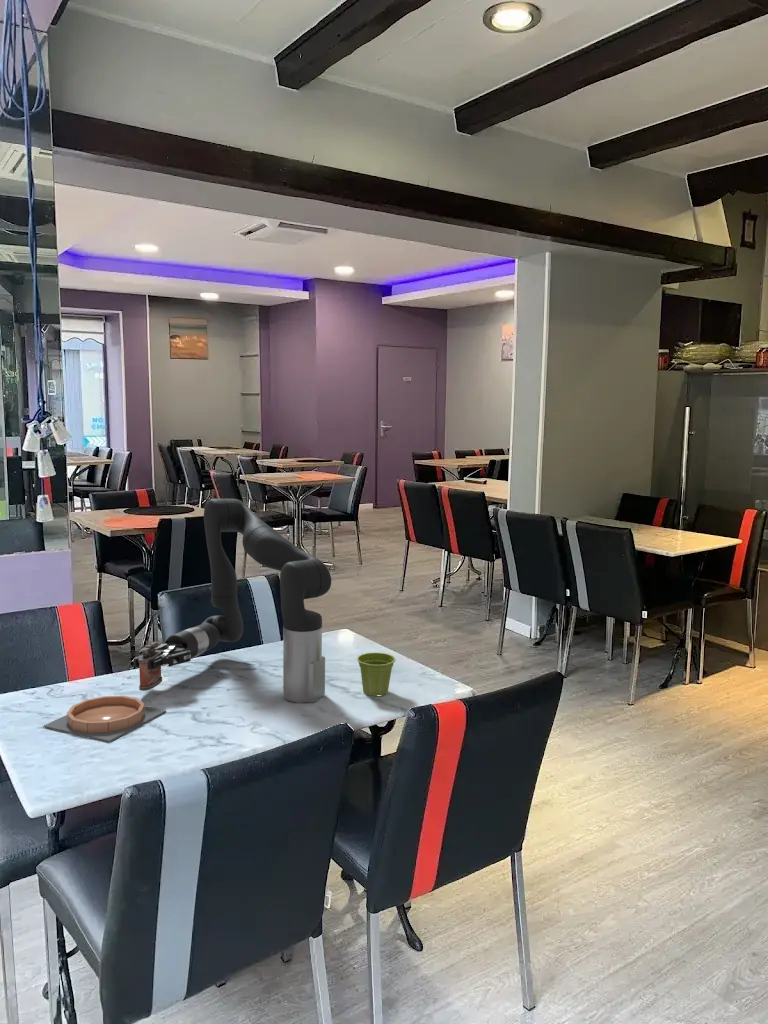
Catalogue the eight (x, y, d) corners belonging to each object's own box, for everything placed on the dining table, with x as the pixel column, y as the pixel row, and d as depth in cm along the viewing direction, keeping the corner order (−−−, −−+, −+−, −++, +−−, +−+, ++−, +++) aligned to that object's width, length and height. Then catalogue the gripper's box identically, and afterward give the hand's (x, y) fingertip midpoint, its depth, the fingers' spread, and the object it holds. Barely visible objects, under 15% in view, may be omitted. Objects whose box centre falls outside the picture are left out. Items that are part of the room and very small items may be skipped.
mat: (166, 712, 174) (166, 710, 174) (109, 742, 157) (109, 740, 157) (104, 699, 180) (103, 697, 180) (43, 727, 164) (43, 725, 164)
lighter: (149, 691, 180) (147, 650, 179) (135, 690, 181) (134, 649, 180) (165, 679, 188) (164, 640, 187) (152, 678, 189) (151, 639, 188)
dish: (158, 711, 173) (158, 702, 173) (109, 737, 159) (108, 727, 158) (104, 700, 179) (104, 691, 179) (52, 724, 165) (51, 715, 164)
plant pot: (402, 694, 187) (403, 660, 186) (370, 702, 182) (370, 666, 181) (380, 683, 195) (381, 650, 194) (349, 690, 190) (349, 656, 189)
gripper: (164, 627, 199) (118, 645, 184) (209, 633, 194) (166, 652, 178) (165, 655, 200) (119, 675, 184) (210, 662, 195) (167, 683, 179)
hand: (142, 664), depth 181 cm, fingers closed on lighter, 3 cm apart
